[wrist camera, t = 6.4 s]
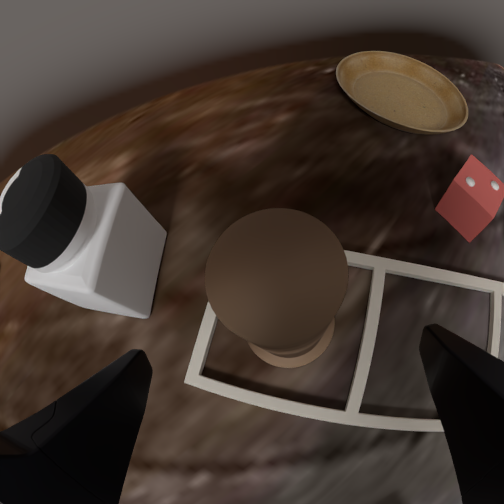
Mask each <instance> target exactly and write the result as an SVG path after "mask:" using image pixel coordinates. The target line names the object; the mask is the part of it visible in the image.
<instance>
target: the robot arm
mask: <svg viewBox="0 0 504 504" xmlns="http://www.w3.org/2000/svg"><path fill="white" fill-rule="evenodd" d="M419 351H420V355H421V359H422V362H423V366H424V370H425V373H426V377H427V381H428V385H429V389H430V392H431V395H432V398H433V401H434V403H435V406H436V409H437V412H438V415H439V418H440V421H441V424H442V427H443V430H444V433H445V436H446V439H447V443H448V446H449V449H450V453H451V456H452V460H453V464H454V467H455V471H456V475H457V479H458V483H459V488H460V492H461V496H462V497H461V498H462V503H463V504H504V362H503V361H502V360H500V359H498V358H496V357H495V356H493V355H491V354H490V353H488V352H486V351H484V350H483V349H481V348H479V347H477V346H476V345H474V344H472V343H470V342H468V341H467V340H465V339H463V338H461V337H460V336H458V335H456V334H454V333H452V332H451V331H449V330H447V329H445V328H443V327H442V326H440V325H438V324H431V325H426V326H425V327H424V329H423V333H422V337H421V341H420V346H419ZM151 378H152V367H151V365H150V362H149V360H148V358H147V356H146V354H145V352H144V351H143V350H138V349H132V350H130V351H129V352H127V353H126V354H124V355H123V356H121V357H120V358H118V359H117V360H115V361H114V362H112V363H111V364H110V365H108V366H107V367H105V368H104V369H102V370H101V371H99V372H98V373H96V374H95V375H93V376H92V377H90V378H89V379H87V380H86V381H84V382H83V383H81V384H80V385H78V386H77V387H75V388H74V389H72V390H71V391H69V392H68V393H66V394H65V395H63V396H62V397H60V398H59V399H57V401H54V402H53V403H51V404H50V405H48V406H47V407H45V408H44V409H42V410H40V411H39V412H37V413H35V414H34V415H32V416H30V417H28V418H26V419H25V420H23V421H21V422H19V423H17V424H15V425H13V426H11V427H10V428H8V429H6V430H4V431H1V432H0V504H119V500H120V496H121V492H122V488H123V484H124V481H125V477H126V473H127V470H128V466H129V463H130V459H131V455H132V452H133V449H134V445H135V442H136V438H137V435H138V432H139V428H140V425H141V422H142V419H143V415H144V412H145V408H146V403H147V398H148V393H149V388H150V383H151Z"/></svg>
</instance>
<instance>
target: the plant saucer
mask: <svg viewBox="0 0 504 504" xmlns="http://www.w3.org/2000/svg"><path fill="white" fill-rule="evenodd" d="M336 77H337V80H338V83H339V84H340V86H341V88H342V89H343V90H344V92H345V93H346V94H347V95H348V96H349V98H350V99H351V100H352V101H353V102H354V103H355V104H356V105H357V106H359V107H360V108H361V109H362V110H363V111H365V112H366V113H367V114H369V115H370V116H371V117H373V118H374V119H376V120H378V121H379V122H381V123H383V124H385V125H388V126H390V127H392V128H395V129H398V130H401V131H404V132H409V133H414V134H424V135H433V134H442V133H447V132H450V131H453V130H456V129H458V128H460V127H461V126H463V125H464V124H465V122H466V120H467V118H468V107H467V104H466V101H465V99H464V97H463V96H462V94H461V93H460V91H459V90H458V89H457V87H456V86H455V85H454V84H453V83H452V82H451V81H450V80H448V79H447V78H446V77H445V76H444V75H442V74H441V73H439V72H438V71H437V70H435V69H433V68H432V67H430V66H428V65H426V64H424V63H422V62H420V61H418V60H415V59H413V58H410V57H407V56H404V55H400V54H396V53H391V52H384V51H365V52H359V53H355V54H352V55H350V56H348V57H346V58H344V59H343V60H342V61H341V62H340V63H339V64H338V66H337V69H336Z"/></svg>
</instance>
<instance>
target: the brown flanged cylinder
mask: <svg viewBox="0 0 504 504" xmlns="http://www.w3.org/2000/svg"><path fill="white" fill-rule="evenodd" d="M348 277H349V275H348V263H347V258H346V255H345V252H344V249H343V247H342V245H341V243H340V241H339V240H338V238H337V237H336V235H335V234H334V233H333V232H332V231H331V230H330V229H329V228H328V227H327V226H326V225H325V224H324V223H323V222H321V221H320V220H318V219H317V218H315V217H313V216H311V215H309V214H307V213H304V212H301V211H298V210H293V209H286V208H271V209H264V210H260V211H256V212H254V213H251V214H248V215H246V216H244V217H242V218H240V219H239V220H237V221H236V222H234V223H233V224H232V225H231V226H229V227H228V228H227V229H226V230H225V231H224V232H223V233H222V234H221V235H220V237H219V238H218V240H217V241H216V242H215V244H214V246H213V248H212V249H211V252H210V254H209V257H208V260H207V264H206V269H205V289H206V294H207V297H208V301H209V303H210V305H211V308H212V310H213V311H214V313H215V314H216V316H217V317H218V319H219V320H220V321H221V322H222V323H223V324H224V325H225V326H226V327H227V328H228V329H229V330H230V331H232V332H233V333H235V334H236V335H238V336H239V337H241V338H243V339H245V340H247V342H248V344H249V346H250V347H251V349H252V350H253V352H254V353H255V354H256V355H257V356H258V357H260V358H261V359H262V360H264V361H265V362H267V363H269V364H271V365H274V366H277V367H283V368H295V367H300V366H303V365H306V364H308V363H310V362H312V361H314V360H315V359H316V358H318V357H319V356H320V355H321V354H322V353H323V352H324V351H325V349H326V348H327V347H328V345H329V343H330V341H331V339H332V336H333V333H334V327H335V318H334V316H335V315H336V313H337V311H338V310H339V308H340V306H341V304H342V302H343V299H344V297H345V294H346V290H347V286H348Z"/></svg>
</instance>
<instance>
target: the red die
mask: <svg viewBox="0 0 504 504" xmlns="http://www.w3.org/2000/svg"><path fill="white" fill-rule="evenodd" d="M503 198H504V184H503V183H502V182H501V181H500V180H499V179H498V178H497V177H496V176H495V175H494V174H493V173H492V172H491V171H490V170H489V169H487V168H486V167H485V166H484V165H483V164H482V163H481V162H480V161H478V160H477V159H476V158H475V157H474V156H473V155H472V154H471V156H470V157H469V159H468V160H467V162H466V163H465V164H464V166H463V167H462V169H461V170H460V171H459V173H458V174H457V175H456V177H455V178H454V180H453V181H452V183H451V184H450V186H449V188H448V189H447V191H446V192H445V194H444V196H443V197H442V199H441V200H440V202H439V203H438V205H437V206H436V208H435V210H436V211H437V212H438V213H439V214H440V215H441V216H442V217H444V218H445V219H446V220H447V221H448V222H449V223H450V224H451V225H452V226H453V227H454V228H455V229H456V230H457V231H458V232H459V233H460V234H461V235H462V236H463V237H464V238H465V239H466V240H467V241H468V242H469V243H470V242H471V241H472V240H473V239H474V238H475V237H476V236H477V235H478V234H479V233H480V232H481V231H482V230H483V229H484V228H485V227H486V226H487V225H488V224H489V223H490V222H491V221H492V219H493V218H494V217H495V215H496V213H497V211H498V209H499V206H500V204H501V202H502V200H503Z"/></svg>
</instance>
